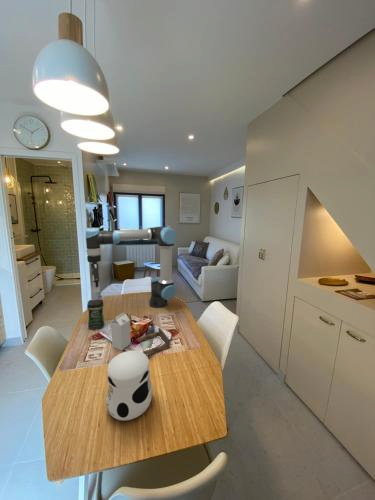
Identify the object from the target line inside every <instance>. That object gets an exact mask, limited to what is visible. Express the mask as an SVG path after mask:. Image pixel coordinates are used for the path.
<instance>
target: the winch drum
mask: <svg viewBox="0 0 375 500" xmlns="http://www.w3.org/2000/svg"><path fill="white" fill-rule="evenodd" d="M149 323H150V325H149V327H148V330H147V334H148V333H149V334H153V333H156V332H155V330H156V329H155V325H156V324H155V323H154V322H153V321H151V322H149ZM149 334H148V335H149Z"/></svg>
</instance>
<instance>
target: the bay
mask: <svg viewBox="0 0 375 500" xmlns="http://www.w3.org/2000/svg"><path fill="white" fill-rule="evenodd" d="M157 330H158V331H156V332H155V333H153V334H147V335H143V336H139V337H140V338H139V337H137V338H138V339H137V340H145V341H142V342H139V344H140V346H141V348H142V350H143V351H142V352H143V353H144V354H146V355H147V354H150V355H153V354H156V353H158V352H162V351H164V350H167V349H169V348H170V347H171V346H170V344H171V343H170V338H169V336H167V335H166V333H165V332H164V331H163V330H162V328H161V327H158V329H157ZM157 336H160V337H161V338H160V337H159V338H160V339H162V340H163V341H164V342H165V344H162V345H161V346H158V347H155V348H152V349H149V350H146V348H151V346H152V344H153V340H154V337H155V338H158V337H157ZM162 340H161V341H162ZM163 341H162V342H163ZM164 342H163V343H164ZM144 350H146V351H144ZM147 356H148V355H147Z"/></svg>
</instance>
